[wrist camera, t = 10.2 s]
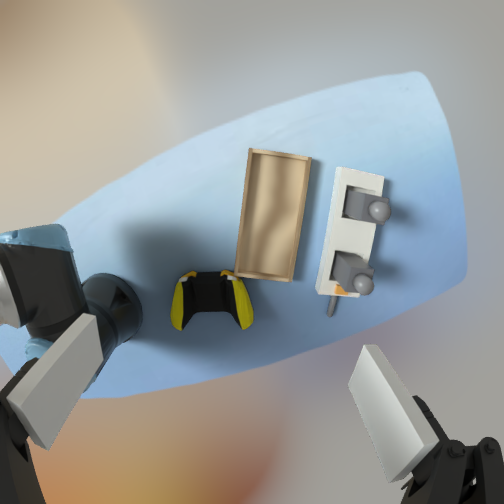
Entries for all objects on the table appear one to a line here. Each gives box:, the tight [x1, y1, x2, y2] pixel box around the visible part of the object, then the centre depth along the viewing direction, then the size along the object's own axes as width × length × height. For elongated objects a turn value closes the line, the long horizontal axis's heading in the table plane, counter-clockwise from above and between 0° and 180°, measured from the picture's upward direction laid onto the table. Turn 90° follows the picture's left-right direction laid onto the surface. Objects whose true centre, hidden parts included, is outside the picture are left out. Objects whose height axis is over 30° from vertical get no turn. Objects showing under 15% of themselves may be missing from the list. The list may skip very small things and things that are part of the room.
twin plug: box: [330, 251, 374, 296], centre depth 43 cm, size 4×4×12 cm
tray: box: [234, 148, 312, 282], centre depth 45 cm, size 10×21×2 cm, turn 173°
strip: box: [315, 167, 384, 317], centre depth 46 cm, size 8×28×4 cm, turn 173°
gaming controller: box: [170, 270, 254, 331], centre depth 48 cm, size 15×6×10 cm
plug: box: [342, 190, 391, 225], centre depth 40 cm, size 4×4×12 cm
